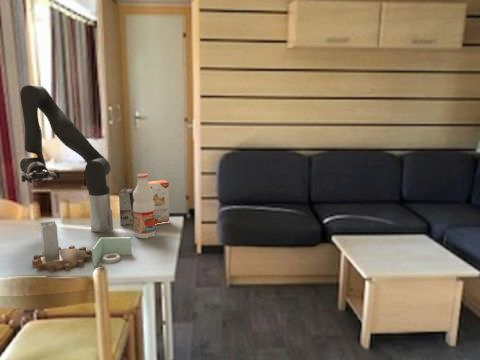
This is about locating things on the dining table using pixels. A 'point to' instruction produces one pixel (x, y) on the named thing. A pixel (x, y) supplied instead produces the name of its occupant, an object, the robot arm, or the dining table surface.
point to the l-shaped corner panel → (111, 249)
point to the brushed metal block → (50, 241)
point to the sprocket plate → (64, 259)
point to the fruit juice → (143, 208)
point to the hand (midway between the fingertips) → (42, 179)
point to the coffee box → (126, 206)
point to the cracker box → (161, 200)
